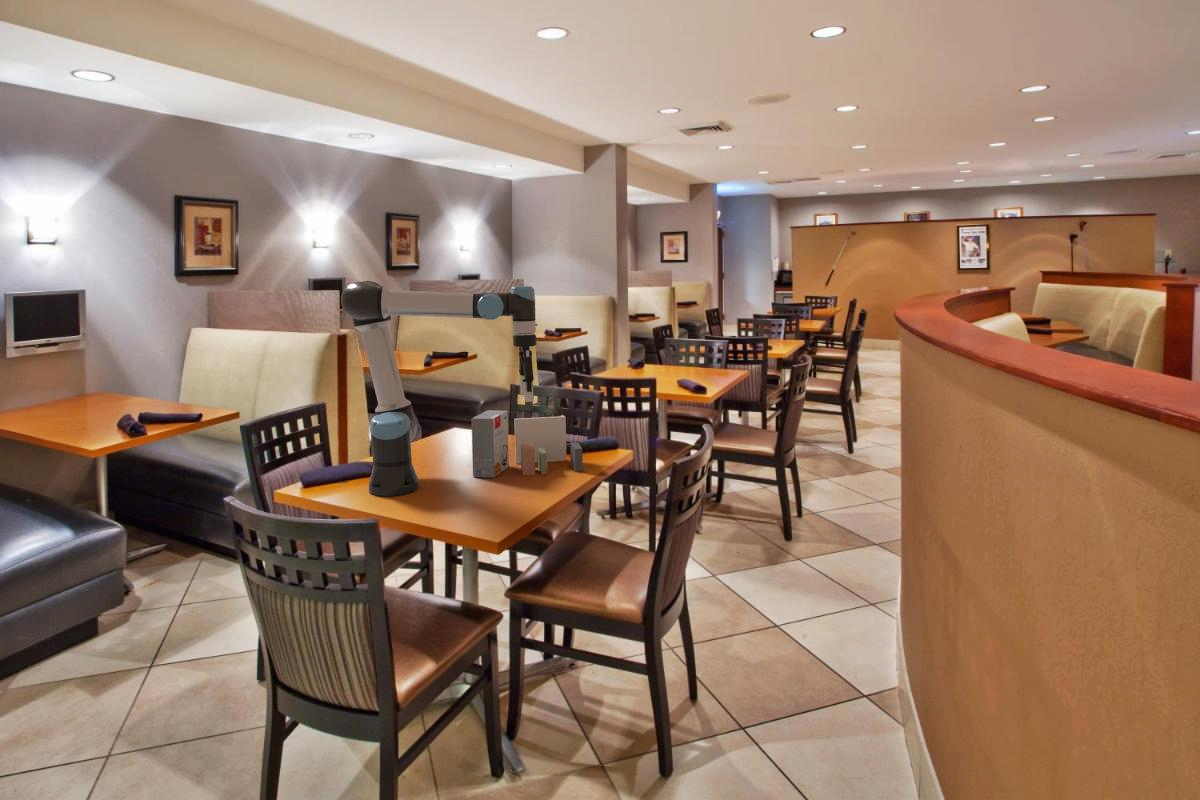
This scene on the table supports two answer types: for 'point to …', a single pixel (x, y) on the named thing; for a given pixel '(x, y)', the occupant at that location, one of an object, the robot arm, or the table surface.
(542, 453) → the divider book
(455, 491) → the table surface
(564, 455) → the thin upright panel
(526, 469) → the book
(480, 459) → the hard drive box
